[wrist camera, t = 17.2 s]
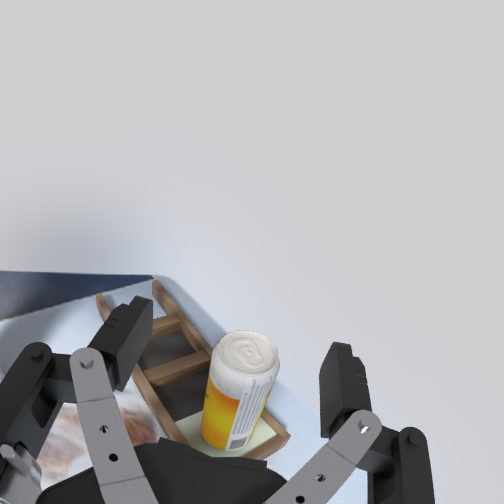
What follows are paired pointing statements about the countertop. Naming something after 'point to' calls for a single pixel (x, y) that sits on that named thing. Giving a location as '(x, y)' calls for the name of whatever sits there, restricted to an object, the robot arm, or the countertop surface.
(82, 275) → the countertop surface
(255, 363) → the beer can
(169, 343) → the brown wooden flat frame
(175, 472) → the robot arm
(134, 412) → the countertop surface
